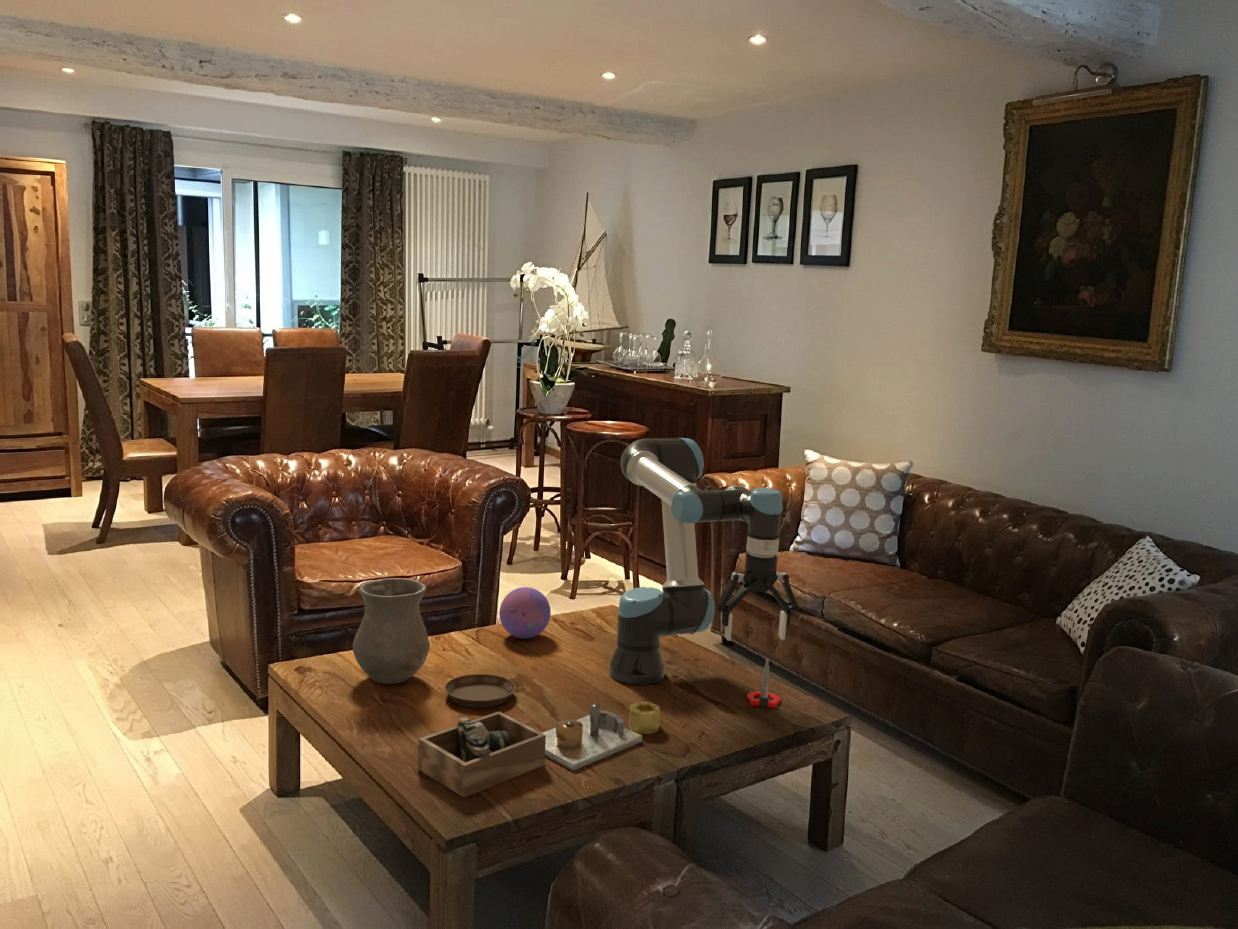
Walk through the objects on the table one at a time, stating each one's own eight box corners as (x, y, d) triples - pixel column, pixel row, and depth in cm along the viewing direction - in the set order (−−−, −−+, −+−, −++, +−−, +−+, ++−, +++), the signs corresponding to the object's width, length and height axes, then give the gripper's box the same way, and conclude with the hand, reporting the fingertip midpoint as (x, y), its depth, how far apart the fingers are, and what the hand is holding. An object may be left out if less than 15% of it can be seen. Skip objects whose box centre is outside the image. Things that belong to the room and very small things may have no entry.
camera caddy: (418, 769, 219) (418, 738, 217) (498, 740, 234) (499, 711, 233) (463, 797, 208) (464, 765, 207) (544, 765, 224) (545, 735, 222)
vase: (337, 684, 261) (337, 590, 256) (381, 660, 278) (382, 572, 274) (402, 700, 253) (403, 603, 249) (443, 674, 271) (445, 583, 266)
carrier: (525, 745, 232) (526, 710, 231) (594, 719, 248) (595, 686, 247) (573, 770, 222) (574, 734, 220) (642, 741, 237) (644, 707, 236)
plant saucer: (458, 680, 268) (458, 669, 268) (523, 688, 265) (523, 677, 264) (434, 707, 251) (434, 695, 250) (503, 716, 248) (503, 704, 247)
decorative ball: (492, 643, 296) (494, 593, 293) (506, 626, 310) (508, 578, 308) (542, 648, 293) (544, 598, 291) (554, 631, 308) (556, 583, 305)
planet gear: (623, 726, 245) (624, 707, 244) (643, 718, 250) (644, 699, 249) (644, 736, 240) (645, 716, 239) (664, 728, 245) (665, 708, 244)
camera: (519, 777, 215) (520, 732, 214) (472, 786, 211) (472, 740, 210) (496, 748, 230) (496, 705, 228) (451, 756, 225) (451, 712, 224)
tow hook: (747, 694, 270) (746, 706, 261) (751, 646, 268) (750, 657, 259) (779, 697, 268) (779, 710, 259) (783, 650, 267) (784, 661, 258)
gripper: (715, 557, 237) (708, 644, 241) (817, 558, 241) (809, 643, 245) (707, 548, 244) (700, 633, 248) (806, 549, 248) (798, 632, 253)
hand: (754, 638), depth 247 cm, fingers open, 13 cm apart
